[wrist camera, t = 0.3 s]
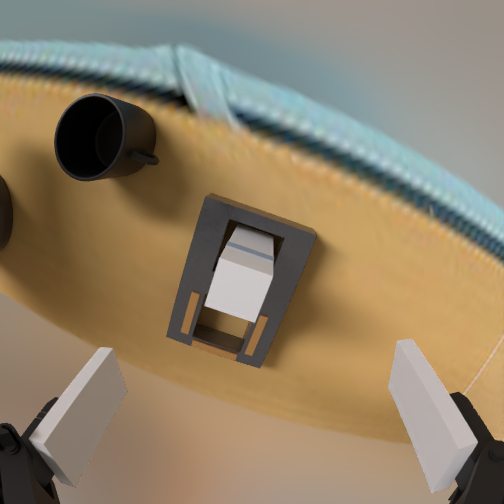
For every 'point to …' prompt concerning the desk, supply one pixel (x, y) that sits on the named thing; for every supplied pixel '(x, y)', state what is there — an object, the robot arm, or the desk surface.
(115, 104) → the mug
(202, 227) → the jack panel
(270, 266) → the plug
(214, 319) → the desk surface
